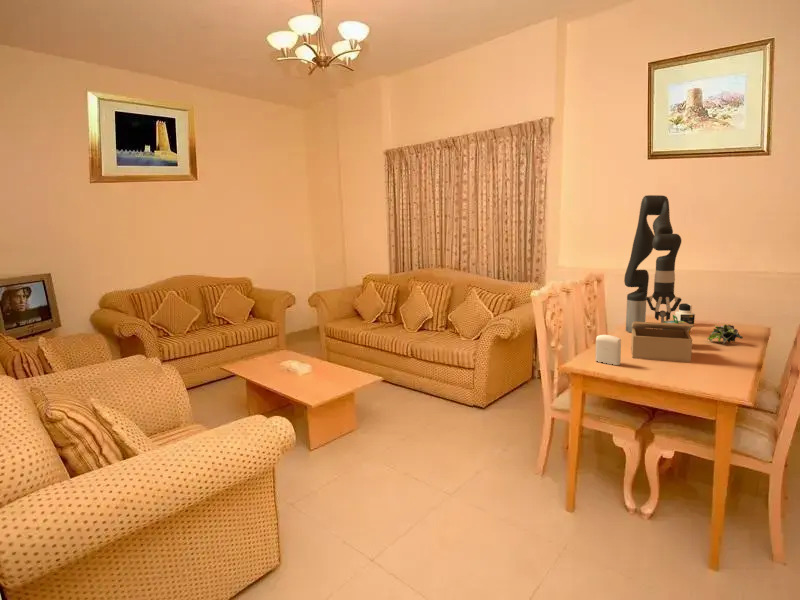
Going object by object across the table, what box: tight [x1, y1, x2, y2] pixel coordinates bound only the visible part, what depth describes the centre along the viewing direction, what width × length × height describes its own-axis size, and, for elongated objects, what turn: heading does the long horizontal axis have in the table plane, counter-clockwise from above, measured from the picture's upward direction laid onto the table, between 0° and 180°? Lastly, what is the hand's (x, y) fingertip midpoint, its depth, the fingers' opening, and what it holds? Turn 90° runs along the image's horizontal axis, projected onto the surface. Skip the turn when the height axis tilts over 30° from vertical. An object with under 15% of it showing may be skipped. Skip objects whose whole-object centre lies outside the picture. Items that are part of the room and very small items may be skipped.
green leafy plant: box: [706, 323, 744, 346], centre depth 215 cm, size 11×11×12 cm
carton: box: [630, 328, 693, 363], centre depth 203 cm, size 16×22×10 cm
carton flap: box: [632, 310, 695, 330], centre depth 202 cm, size 16×22×6 cm
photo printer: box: [595, 334, 622, 366], centre depth 195 cm, size 10×4×12 cm, turn 45°
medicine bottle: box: [674, 303, 696, 325], centre depth 251 cm, size 7×7×12 cm
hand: (662, 319), depth 197 cm, fingers closed on carton flap, 3 cm apart
